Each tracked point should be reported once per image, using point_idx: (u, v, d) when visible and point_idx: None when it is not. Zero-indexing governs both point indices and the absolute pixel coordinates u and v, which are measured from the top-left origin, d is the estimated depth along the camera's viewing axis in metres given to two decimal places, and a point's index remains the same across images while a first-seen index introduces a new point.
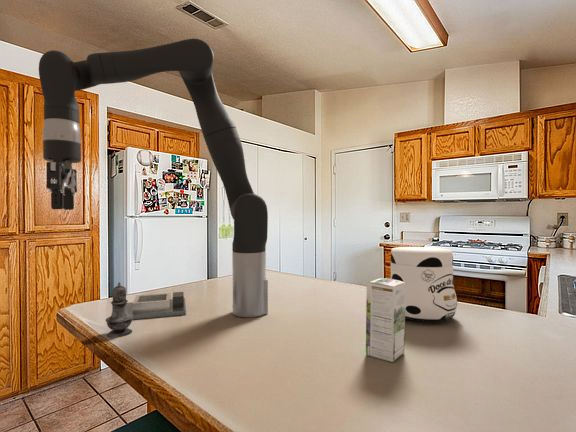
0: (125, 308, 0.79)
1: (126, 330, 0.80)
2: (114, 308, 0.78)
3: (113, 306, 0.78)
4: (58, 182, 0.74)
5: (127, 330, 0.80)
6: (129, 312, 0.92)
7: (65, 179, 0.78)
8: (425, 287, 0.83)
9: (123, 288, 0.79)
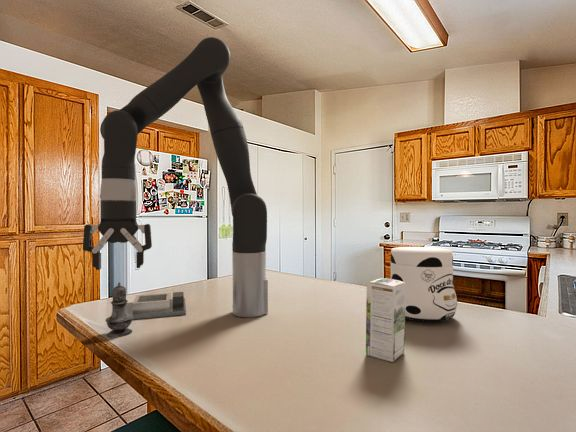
0: (125, 308, 0.79)
1: (126, 330, 0.80)
2: (114, 308, 0.78)
3: (113, 306, 0.78)
4: None
5: (127, 330, 0.80)
6: (129, 312, 0.92)
7: (136, 238, 0.82)
8: (425, 287, 0.83)
9: (123, 288, 0.79)
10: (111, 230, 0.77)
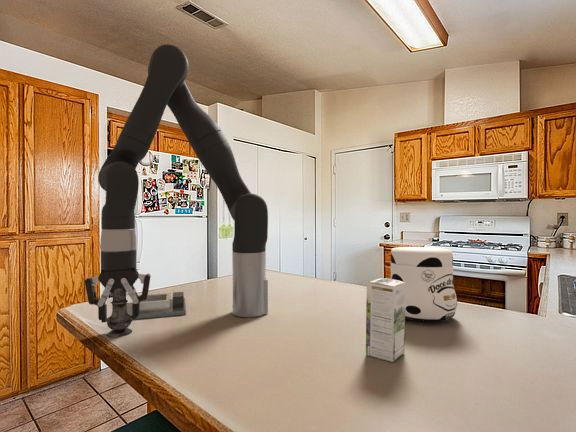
0: (125, 308, 0.79)
1: (126, 330, 0.80)
2: (114, 308, 0.78)
3: (113, 306, 0.78)
4: None
5: (127, 330, 0.80)
6: (129, 312, 0.92)
7: (134, 287, 0.82)
8: (425, 287, 0.83)
9: None
10: (111, 280, 0.77)
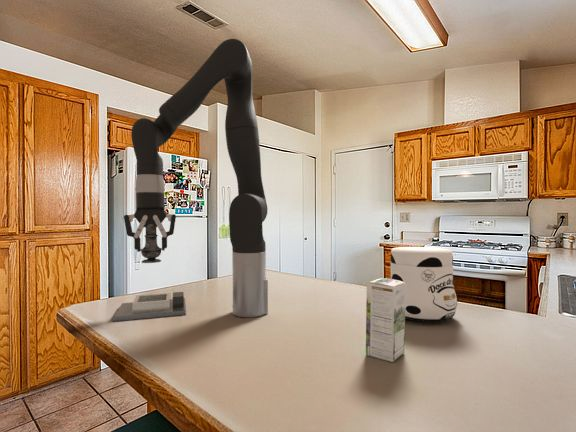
0: (156, 241, 0.96)
1: (156, 259, 0.97)
2: (148, 240, 0.95)
3: (146, 238, 0.95)
4: None
5: (157, 259, 0.97)
6: (129, 312, 0.92)
7: (162, 225, 0.99)
8: (425, 287, 0.83)
9: None
10: (145, 217, 0.94)
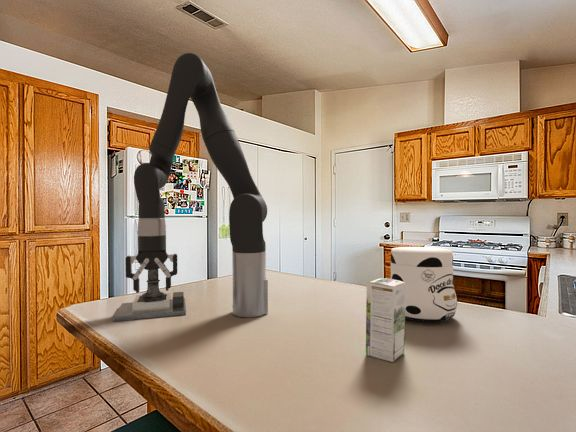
0: (158, 286, 0.97)
1: None
2: (149, 285, 0.96)
3: (148, 284, 0.96)
4: None
5: None
6: (129, 312, 0.92)
7: None
8: (425, 287, 0.83)
9: (156, 269, 0.97)
10: (147, 260, 0.95)
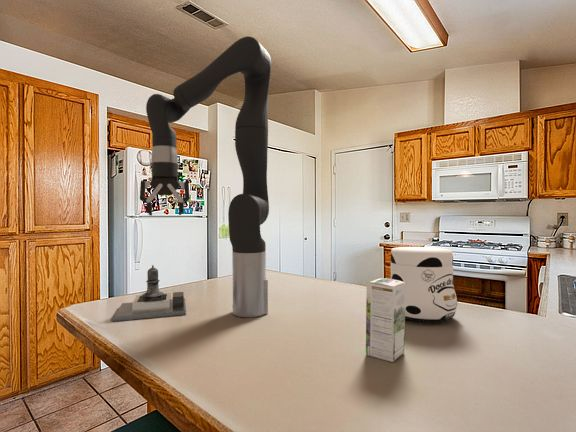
0: (158, 286, 0.97)
1: None
2: (149, 285, 0.96)
3: (148, 284, 0.96)
4: None
5: None
6: (129, 312, 0.92)
7: None
8: (425, 287, 0.83)
9: (156, 270, 0.97)
10: (160, 185, 1.02)
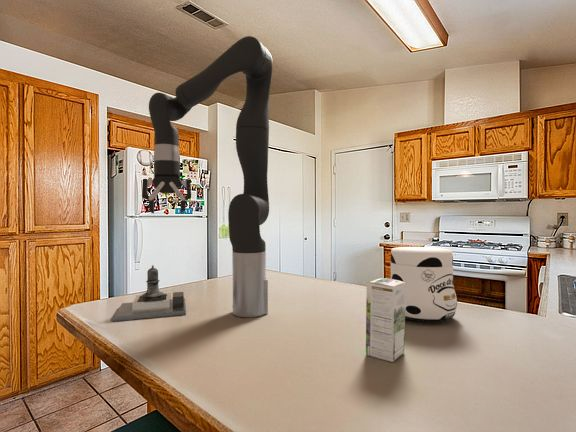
0: None
1: None
2: (149, 285, 0.96)
3: (148, 284, 0.96)
4: None
5: None
6: (129, 312, 0.92)
7: None
8: (425, 287, 0.83)
9: (156, 270, 0.97)
10: (162, 183, 1.03)
